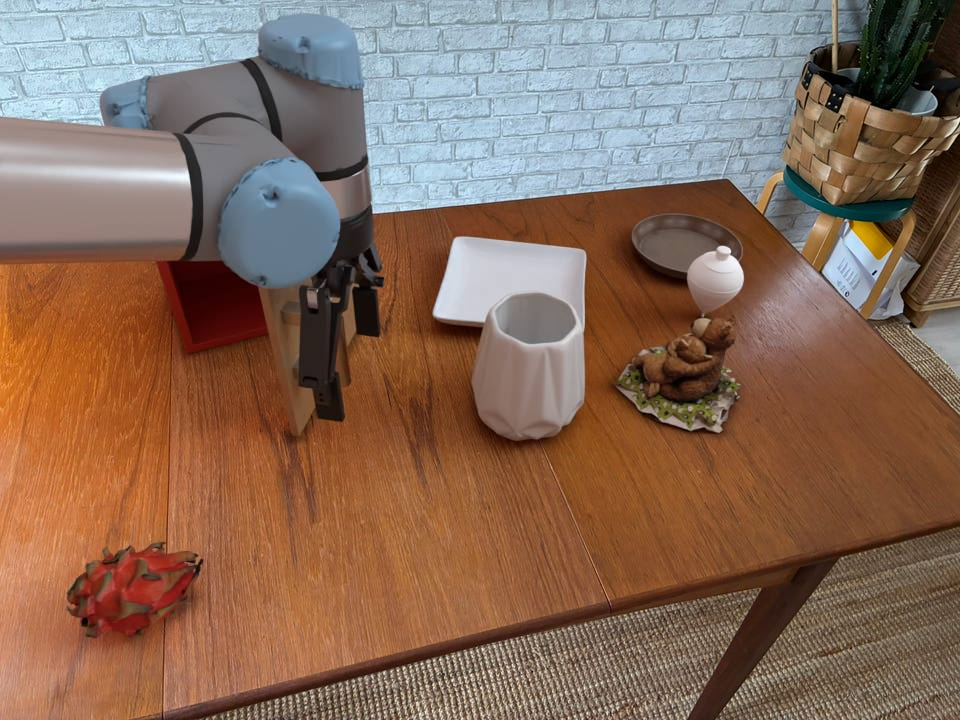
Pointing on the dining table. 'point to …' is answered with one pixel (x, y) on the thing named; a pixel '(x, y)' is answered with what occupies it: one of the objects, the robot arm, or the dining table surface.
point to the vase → (529, 366)
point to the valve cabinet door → (285, 345)
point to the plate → (506, 277)
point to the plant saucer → (680, 242)
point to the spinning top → (714, 279)
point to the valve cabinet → (211, 303)
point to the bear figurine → (685, 377)
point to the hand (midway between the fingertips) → (351, 373)
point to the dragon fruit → (132, 589)
